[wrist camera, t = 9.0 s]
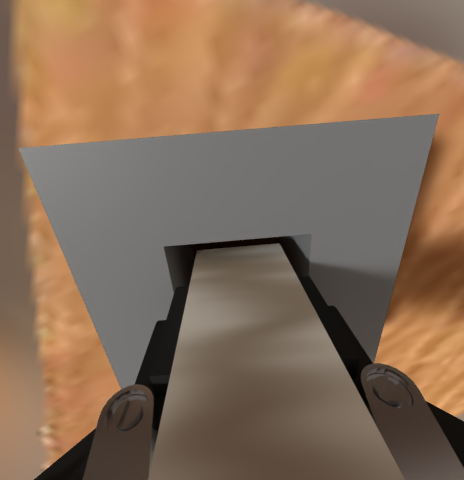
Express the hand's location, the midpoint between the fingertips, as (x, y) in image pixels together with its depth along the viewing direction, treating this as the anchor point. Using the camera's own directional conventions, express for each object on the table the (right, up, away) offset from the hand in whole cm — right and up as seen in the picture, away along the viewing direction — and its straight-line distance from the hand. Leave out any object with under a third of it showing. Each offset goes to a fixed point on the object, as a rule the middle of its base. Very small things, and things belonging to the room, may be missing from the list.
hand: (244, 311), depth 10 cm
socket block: (0, +3, +6) cm, 7 cm away
